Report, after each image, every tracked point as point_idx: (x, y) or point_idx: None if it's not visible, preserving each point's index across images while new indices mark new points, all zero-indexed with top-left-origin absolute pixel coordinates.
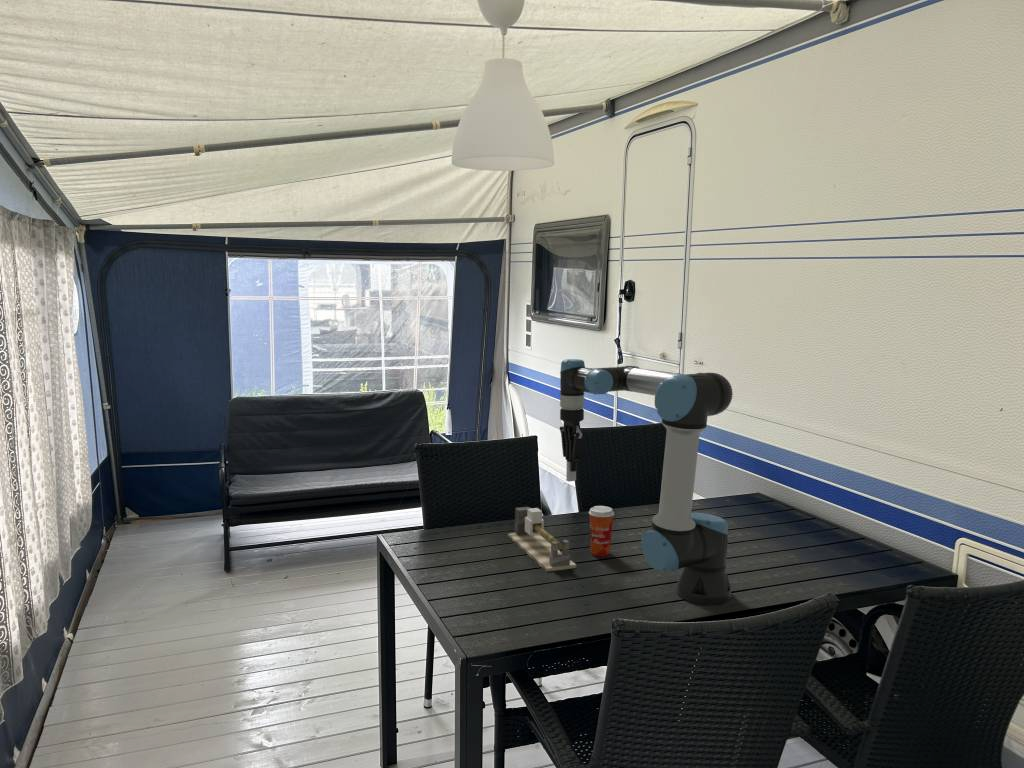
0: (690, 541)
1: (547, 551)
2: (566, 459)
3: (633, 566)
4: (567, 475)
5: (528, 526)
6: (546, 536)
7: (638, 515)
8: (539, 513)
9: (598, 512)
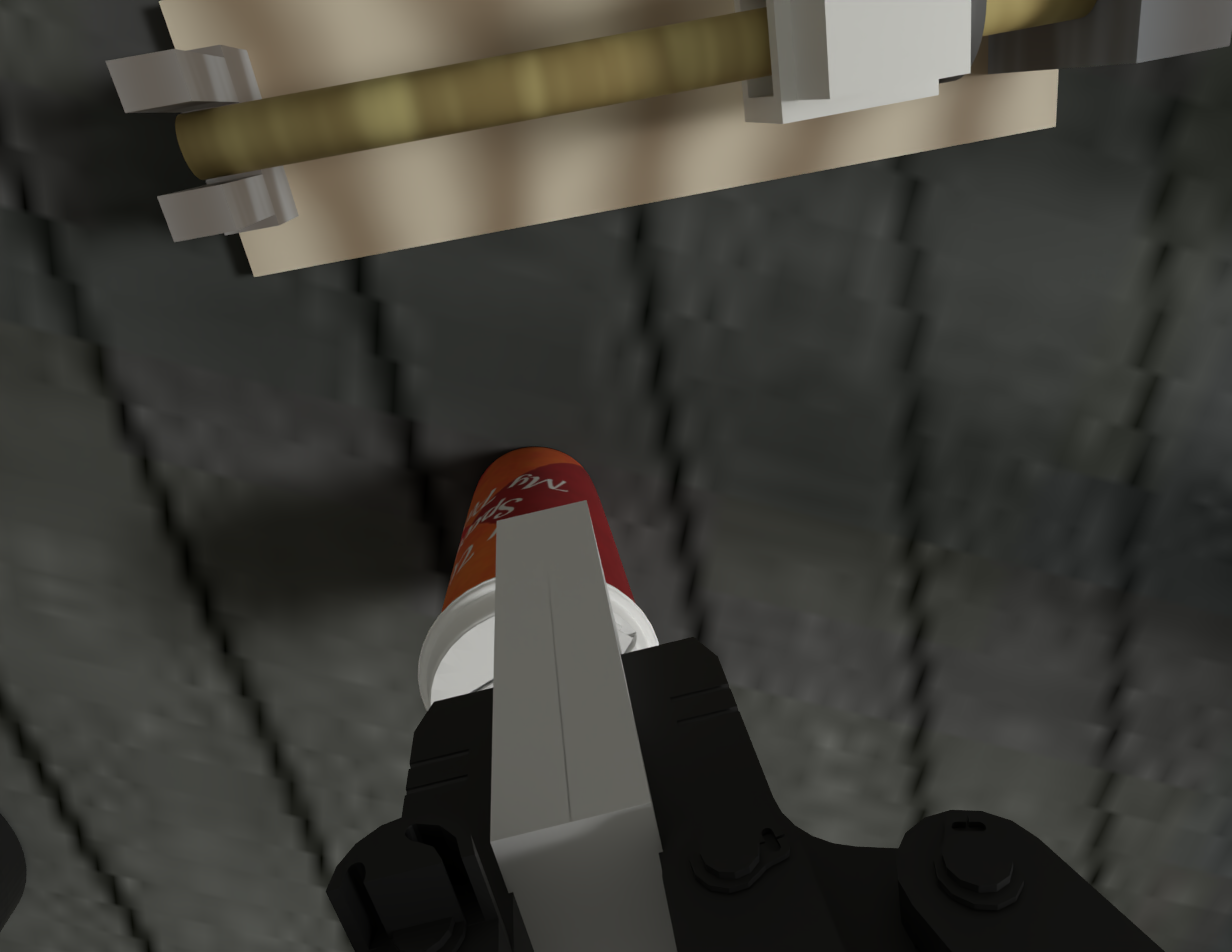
0: None
1: (560, 114)
2: (705, 828)
3: (289, 635)
4: (548, 565)
5: None
6: (448, 68)
7: (1109, 844)
8: (820, 66)
9: (442, 654)
